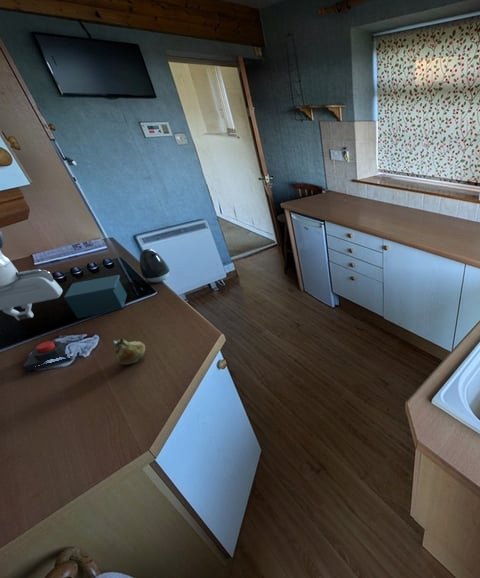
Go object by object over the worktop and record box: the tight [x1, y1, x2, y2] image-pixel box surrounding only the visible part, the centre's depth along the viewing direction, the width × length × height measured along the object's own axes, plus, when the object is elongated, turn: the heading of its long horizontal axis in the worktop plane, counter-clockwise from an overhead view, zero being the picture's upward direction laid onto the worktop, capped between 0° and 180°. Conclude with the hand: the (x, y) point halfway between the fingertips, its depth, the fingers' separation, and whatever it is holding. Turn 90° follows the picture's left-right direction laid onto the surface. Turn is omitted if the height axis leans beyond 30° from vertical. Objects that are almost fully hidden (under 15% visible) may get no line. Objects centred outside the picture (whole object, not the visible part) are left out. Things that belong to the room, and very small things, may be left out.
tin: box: [64, 279, 128, 320], centre depth 115 cm, size 14×12×9 cm
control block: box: [22, 339, 75, 372], centre depth 92 cm, size 10×8×4 cm
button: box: [35, 340, 56, 353], centre depth 90 cm, size 4×4×2 cm
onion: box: [112, 338, 146, 366], centre depth 90 cm, size 8×8×8 cm
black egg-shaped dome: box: [139, 248, 170, 283], centre depth 132 cm, size 10×10×15 cm
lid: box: [63, 274, 121, 300], centre depth 112 cm, size 14×12×1 cm
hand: (26, 317), depth 85 cm, fingers closed
